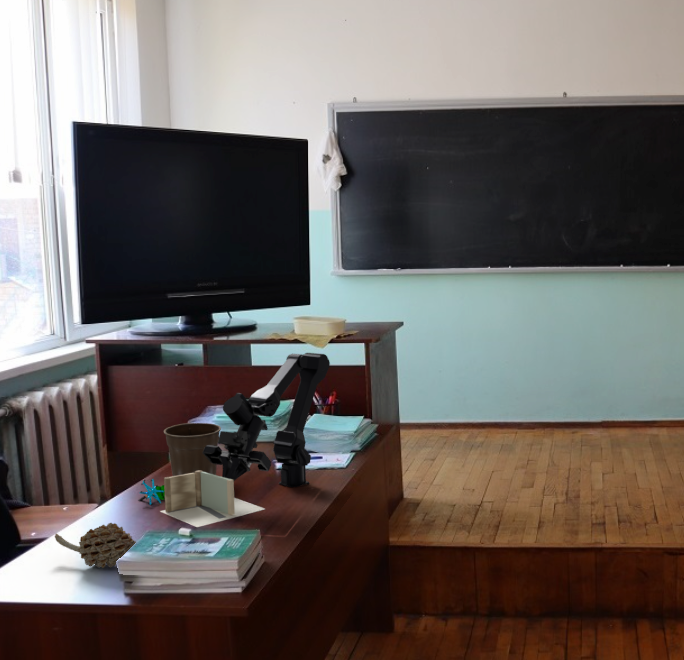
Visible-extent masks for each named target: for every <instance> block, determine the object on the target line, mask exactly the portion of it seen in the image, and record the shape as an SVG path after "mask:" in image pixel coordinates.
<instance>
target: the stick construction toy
mask: <svg viewBox="0 0 684 660" xmlns="http://www.w3.org/2000/svg"><path fill="white" fill-rule="evenodd" d="M150 482H151V485H152V486H150V485H148V484H147V483H146V479H144V480H142V483H141V484H140V485H141V486H143V485H144V488H145V489H146V491H143V490H141V491H140V492H139V494H140V495H143V496H142V497H141V498H139V499H137V501H138V502H142V501H144V500H149V506H153V505H154V504H153V503H152V502H153V501H152V499H155V500H157V502H158V504H162V502H161V501H163V500H164V501H165V489H164V484H162V485H158V484H157V485H156V484H155V479H154V478H152V479H150Z"/></svg>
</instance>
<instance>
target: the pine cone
mask: <svg viewBox="0 0 684 660" xmlns="http://www.w3.org/2000/svg"><path fill="white" fill-rule="evenodd" d="M54 538H55V541H56V542H57V543H58V544H60V546H62V547H64V548H67V549H69V550H71V551H74V552H76V553H79V555H80V559H82V560H83V559H84V563H85V565H86V566H88V567H93V566H96V567H97V568H103V569H104V568H105V567H106V566H107V567H109V568H112V567H115V566H116V565H117V564H116V561H117V560H118V559H119V558H121V557H122V556H123V555H124V554H125V553H126V552H127V551H128V550H129V549H130V548H131V547H132V546H133V545H134V544H135V543H136V544H137V541H136V540H134V539H133V536H132V535H131V533H130V532H128V533H127V532H126V530H124V528H123V526H120V527H119V526H118V524H117V523H115V522H114V523H112V522H109V523H107V524H106V525H105V524H101V525H100V526H98V527H96V528H94V529H92V528H91V529H90V528H89V530H88V531H86V533H85V534H84V535H82V536H81V537H80V538H79V539H80V540H79V542H78V543H79V545H77V544H73V543H71V542H69V541H68V540H66V539H64V538H63V537H62V536H61V535H59V533H55V535H54ZM94 564H95V565H94Z"/></svg>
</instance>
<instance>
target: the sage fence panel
mask: <svg viewBox="0 0 684 660" xmlns="http://www.w3.org/2000/svg"><path fill="white" fill-rule="evenodd" d="M234 482H235V481H234V480H233V479H228V478H224V477H222V476H221V475H217V474H216V475H213V474H210V473H206V472H201V497H202V506H205V507H209V508H212V509H215V510H218V511H221V512H224V513H228V514H230V515H233V514H235V509H234V498H235V490H234V487H235V484H234Z"/></svg>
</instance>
